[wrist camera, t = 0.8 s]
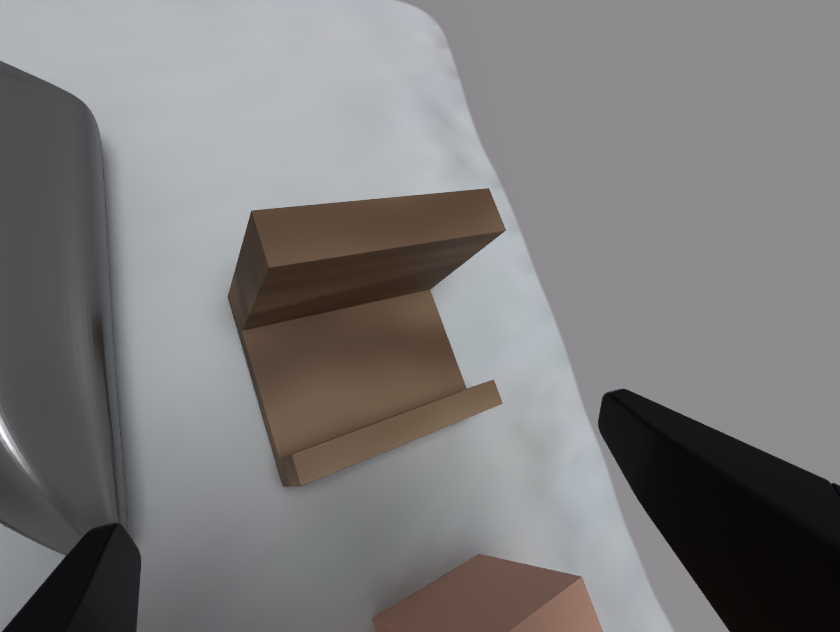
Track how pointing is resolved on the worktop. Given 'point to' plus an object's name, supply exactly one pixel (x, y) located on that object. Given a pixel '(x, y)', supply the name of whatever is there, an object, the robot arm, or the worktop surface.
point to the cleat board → (356, 324)
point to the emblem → (55, 320)
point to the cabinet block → (495, 601)
